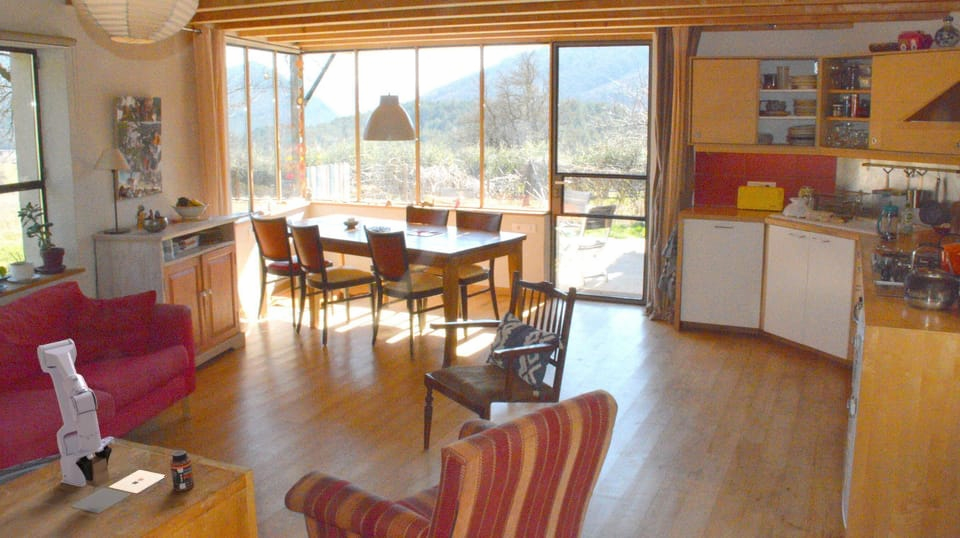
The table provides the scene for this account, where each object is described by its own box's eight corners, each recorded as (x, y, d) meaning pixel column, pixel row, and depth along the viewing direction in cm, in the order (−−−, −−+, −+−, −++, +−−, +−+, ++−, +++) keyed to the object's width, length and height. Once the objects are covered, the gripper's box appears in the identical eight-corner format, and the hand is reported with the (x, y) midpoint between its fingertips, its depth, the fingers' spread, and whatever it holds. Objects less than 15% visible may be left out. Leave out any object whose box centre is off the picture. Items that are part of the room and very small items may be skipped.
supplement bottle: (188, 492, 261) (182, 457, 258) (170, 492, 262) (164, 457, 259) (198, 483, 266) (193, 448, 264) (180, 482, 268) (175, 448, 265)
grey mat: (69, 507, 257) (69, 506, 257) (103, 488, 267) (103, 487, 267) (98, 514, 251) (98, 513, 251) (131, 494, 262) (131, 494, 262)
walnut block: (86, 484, 257) (82, 462, 255) (99, 477, 261) (95, 456, 259) (97, 487, 255) (93, 464, 253) (109, 480, 259) (105, 458, 257)
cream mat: (108, 487, 268) (108, 486, 268) (139, 470, 278) (139, 469, 278) (136, 493, 262) (136, 493, 262) (167, 476, 273) (167, 475, 272)
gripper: (77, 445, 246) (85, 489, 249) (118, 424, 259) (126, 467, 262) (59, 441, 249) (68, 485, 253) (101, 421, 262) (109, 463, 265)
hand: (96, 476), depth 257 cm, fingers closed on walnut block, 4 cm apart
